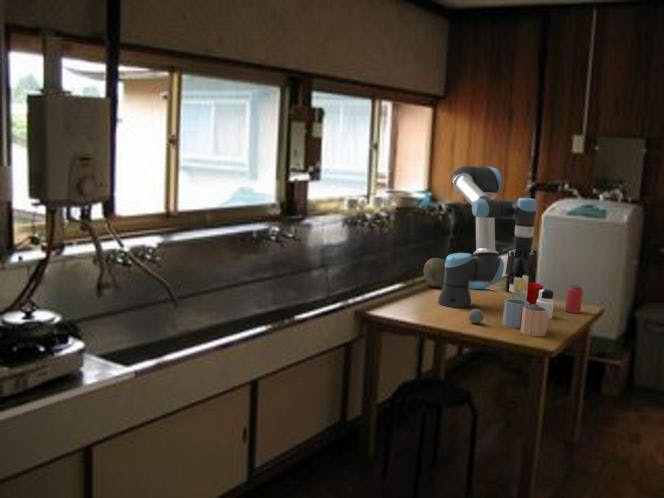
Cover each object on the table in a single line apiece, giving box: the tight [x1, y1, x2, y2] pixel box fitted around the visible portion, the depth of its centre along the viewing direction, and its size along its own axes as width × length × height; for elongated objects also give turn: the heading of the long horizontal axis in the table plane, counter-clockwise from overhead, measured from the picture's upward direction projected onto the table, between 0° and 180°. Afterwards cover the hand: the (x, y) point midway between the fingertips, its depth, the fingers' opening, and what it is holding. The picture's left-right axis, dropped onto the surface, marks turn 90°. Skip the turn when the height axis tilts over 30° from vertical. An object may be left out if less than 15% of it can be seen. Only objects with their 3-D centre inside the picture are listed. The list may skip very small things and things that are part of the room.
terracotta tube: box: [519, 306, 549, 337], centre depth 296 cm, size 10×10×10 cm
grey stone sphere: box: [422, 257, 446, 289], centre depth 374 cm, size 14×14×15 cm
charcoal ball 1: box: [468, 308, 485, 324], centre depth 306 cm, size 6×6×6 cm
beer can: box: [565, 284, 584, 314], centre depth 337 cm, size 7×7×12 cm
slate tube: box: [501, 298, 529, 329], centre depth 306 cm, size 10×10×10 cm
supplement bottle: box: [511, 291, 527, 301], centre depth 333 cm, size 7×7×13 cm
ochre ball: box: [515, 277, 526, 292], centre depth 304 cm, size 6×6×6 cm
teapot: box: [469, 282, 491, 290], centre depth 379 cm, size 15×15×10 cm
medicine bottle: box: [536, 288, 555, 320], centre depth 325 cm, size 7×7×12 cm
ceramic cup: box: [527, 281, 544, 306], centre depth 347 cm, size 13×17×10 cm
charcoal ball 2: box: [527, 304, 542, 311], centre depth 296 cm, size 6×6×6 cm
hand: (518, 291), depth 305 cm, fingers closed on ochre ball, 6 cm apart
